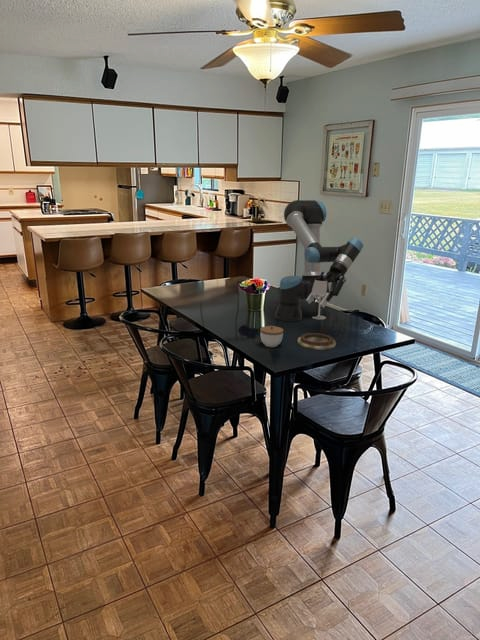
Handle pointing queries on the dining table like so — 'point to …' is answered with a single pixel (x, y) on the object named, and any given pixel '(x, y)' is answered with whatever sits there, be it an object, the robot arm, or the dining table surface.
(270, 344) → the lidded jar
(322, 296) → the wineglass
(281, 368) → the dining table surface
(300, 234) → the robot arm
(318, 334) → the ring tray
